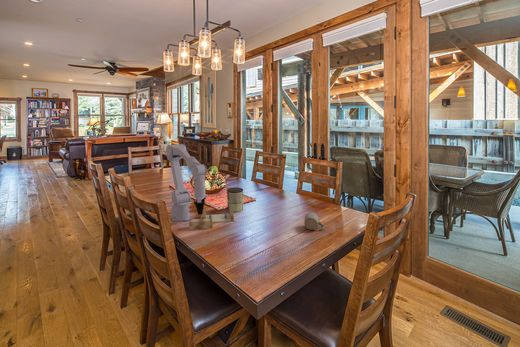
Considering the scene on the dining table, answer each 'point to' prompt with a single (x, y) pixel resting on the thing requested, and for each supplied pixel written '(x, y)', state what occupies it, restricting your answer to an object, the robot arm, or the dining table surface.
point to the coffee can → (235, 199)
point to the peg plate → (220, 217)
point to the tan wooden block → (200, 224)
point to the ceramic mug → (312, 222)
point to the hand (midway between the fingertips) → (200, 212)
